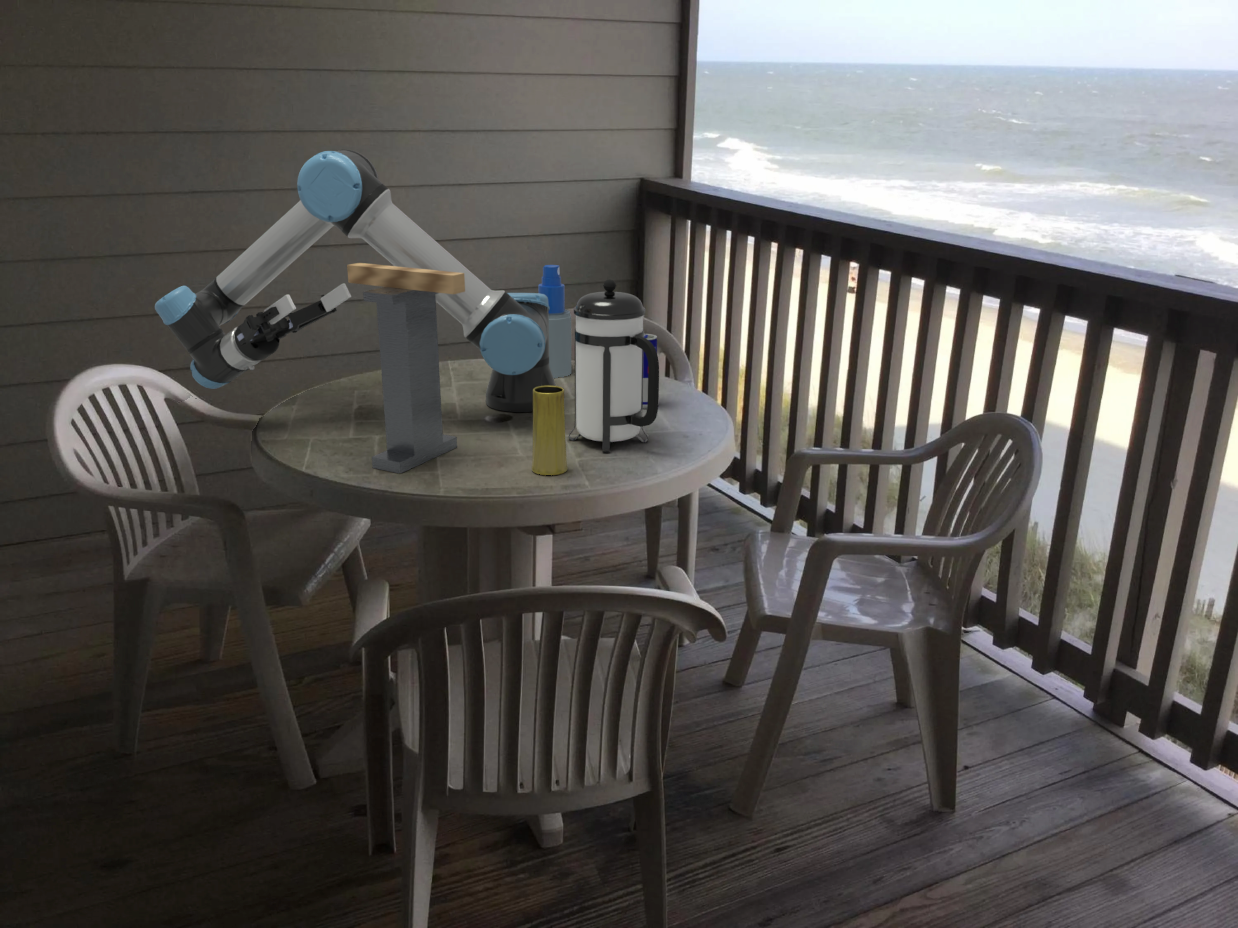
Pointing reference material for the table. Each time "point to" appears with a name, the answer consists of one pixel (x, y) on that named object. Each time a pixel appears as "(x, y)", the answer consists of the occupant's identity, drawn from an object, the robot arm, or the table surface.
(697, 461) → the table surface
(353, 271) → the oak bar
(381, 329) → the charcoal post
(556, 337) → the spray bottle
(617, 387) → the coffee press
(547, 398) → the vase
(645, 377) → the beverage can
